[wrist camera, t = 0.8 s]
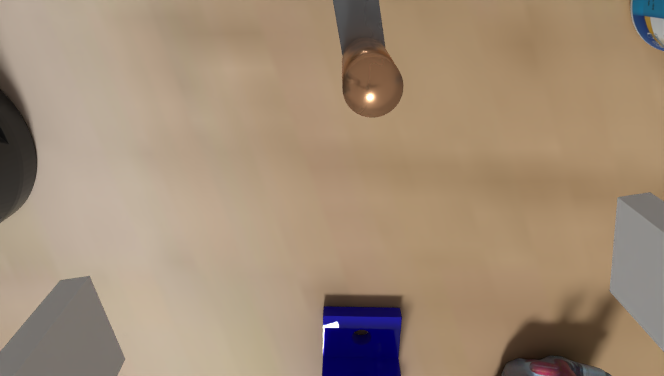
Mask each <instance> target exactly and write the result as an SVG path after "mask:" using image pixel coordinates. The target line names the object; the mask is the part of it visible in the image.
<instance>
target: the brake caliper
mask: <svg viewBox="0 0 664 376" xmlns="http://www.w3.org/2000/svg"><path fill="white" fill-rule="evenodd" d="M501 376H611V375H610V374H609V373H607V372H605V371H603V370H602V369H600V368H597V367H594V366H590V365H585V364H581V363H578V362H575V361H571V360H569V359H566V358H564V357H561V356H547V357H545V358H543V359H541V360H535V359H522V358H518V359H515V360H513V361H510V362H508V363H507V364H506V365H505V368H504V370H503V372H502V375H501Z"/></svg>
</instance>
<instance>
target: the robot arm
mask: <svg viewBox="0 0 664 376" xmlns="http://www.w3.org/2000/svg"><path fill="white" fill-rule="evenodd" d="M35 177H36V153H35V148H34V144H33V141H32V137H31V135H30V132H29V130H28V128H27V125H26V123H25V122H24V120H23V118H22V116H21V115H20V113H19V112H18V110H17V109H16V107H15V106H14V105H13V103H12V102H11V101H10V100H9V98H8V97H7V96H6V95H5V94H4V93H3V92H2V91H1V90H0V223H1V222H2V221H4V220H5V219H6V218H8V217H9V216H11V215H12V214H13V213H15V212H16V211H17V210H18V209H19V208H20V207H21V206H22V205H23V204H24V203H25V201H26V200H27V198H28V197H29V195H30V193H31V191H32V188H33V185H34V182H35ZM610 292H611V293H612V294H613V295H614V297H615V298H616V299H617V300H618V301H619V302H620V303H621V304H622V306H623V307H624V308H625V309H626V310H627V311H628V312H629V313H630V314H631V316H632V317H633V318H634V319H635V320H636V321H637V322H638V323H639V325H640V326H641V327H642V328H643V329H644V330H645V331H646V332H647V333H648V335H649V336H650V337H651V338H652V339H653V340H654V341H655V342H656V343H657V345H658V346H659V347H660V348H661V349H662V350H663V351H664V201H662V200H661V199H659V198H658V197H656V196H655V195H653V194H652V193H650V192H649V193H643V194H636V195H629V196H623V197H618V200H617V211H616V223H615V235H614V246H613V258H612V270H611V281H610ZM124 361H125V357H124V355H123V353H122V350H121V348H120V346H119V343H118V341H117V339H116V336H115V334H114V332H113V329H112V327H111V325H110V322H109V320H108V318H107V315H106V313H105V311H104V308H103V306H102V304H101V302H100V299H99V297H98V295H97V292H96V290H95V288H94V285H93V283H92V281H91V278H90V276H86V277H79V278H73V279H66V280H60V281H59V282H58V284H57V285H56V286H55V287H54V288H53V290H52V291H51V292H50V293H49V294H48V296H47V297H46V298H45V299H44V300H43V301H42V303H41V304H40V305H39V306H38V307H37V309H36V310H35V311H34V312H33V313H32V315H31V316H30V317H29V318H28V319H27V321H26V322H25V323H24V324H23V325H22V326H21V328H20V329H19V330H18V331H17V332H16V334H15V335H14V336H13V337H12V338H11V340H10V341H9V342H8V343H7V344H6V345H5V347H4V348H3V349H2V350H1V351H0V376H117V375H118V373H119V371H120V369H121V367H122V365H123V363H124Z"/></svg>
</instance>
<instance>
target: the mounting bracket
mask: <svg viewBox="0 0 664 376" xmlns="http://www.w3.org/2000/svg"><path fill="white" fill-rule="evenodd" d="M401 320H402V316H401V311H400V308H388V307H332V306H324V310H323V368H322V376H401V372H400V366H399V359H398V357H399V344H400V332H401ZM358 330H366V331H368V333H366V334H364V335H358V334H355V333H354V332H356V331H358Z"/></svg>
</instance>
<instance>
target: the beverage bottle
mask: <svg viewBox="0 0 664 376" xmlns="http://www.w3.org/2000/svg"><path fill="white" fill-rule="evenodd" d="M630 11H631V18H632V22H633V25H634V27H635V29H636V31H637V33H638V34H639V35H640V37H641V38H642V39H643V40H644V41H645V42H646V43H648V44H649V45H651V46H652V47H654V48H656V49H659V50H662V51H664V0H631V2H630Z"/></svg>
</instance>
